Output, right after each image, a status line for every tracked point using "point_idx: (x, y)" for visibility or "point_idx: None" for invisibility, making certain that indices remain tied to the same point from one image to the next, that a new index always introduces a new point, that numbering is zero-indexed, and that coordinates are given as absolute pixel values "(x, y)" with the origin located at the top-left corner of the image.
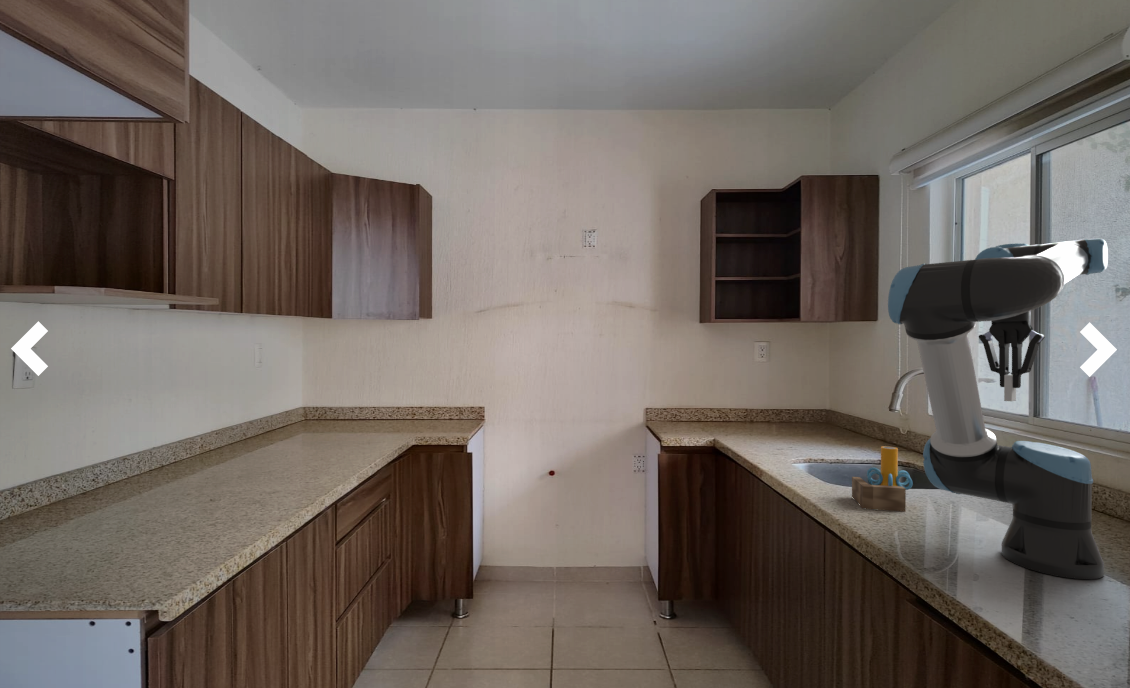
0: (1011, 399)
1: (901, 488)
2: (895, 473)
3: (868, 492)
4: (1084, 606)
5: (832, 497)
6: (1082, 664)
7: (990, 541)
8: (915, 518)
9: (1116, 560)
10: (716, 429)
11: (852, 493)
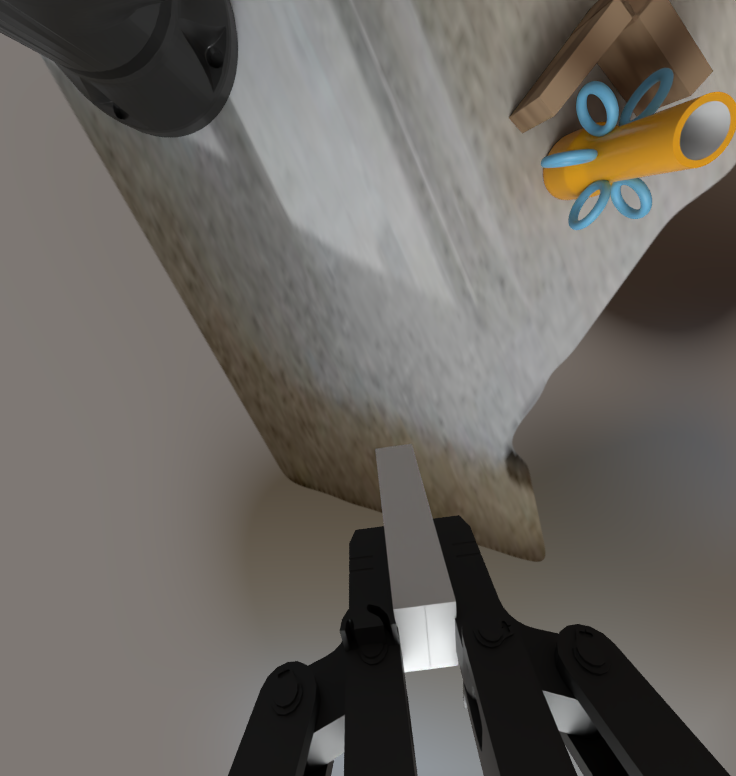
0: (376, 455)
1: (548, 85)
2: (607, 147)
3: None
4: None
5: (699, 35)
6: None
7: (288, 71)
8: (467, 79)
9: (138, 214)
10: None
11: None
